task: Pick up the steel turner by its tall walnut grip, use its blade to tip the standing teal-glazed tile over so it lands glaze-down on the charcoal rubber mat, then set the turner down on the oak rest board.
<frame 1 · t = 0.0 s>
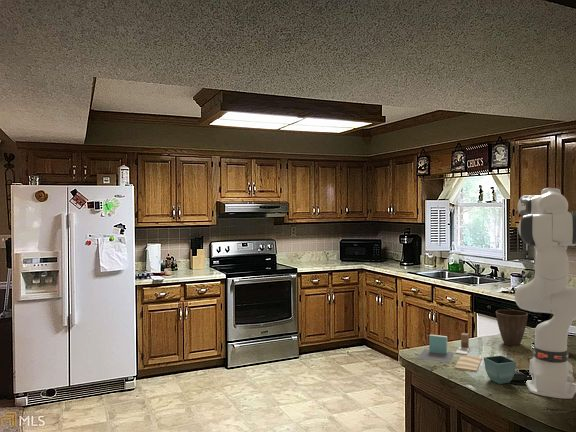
hand: (550, 255, 220), 48 cm above the counter, fingers open, 8 cm apart
tile: (438, 352, 235), resting on mat
plant pot: (511, 344, 251), on the counter
flower pot: (499, 382, 197), on the counter
rest board: (468, 363, 219), on the counter
mat: (436, 356, 231), on the counter
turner: (464, 348, 244), on the counter
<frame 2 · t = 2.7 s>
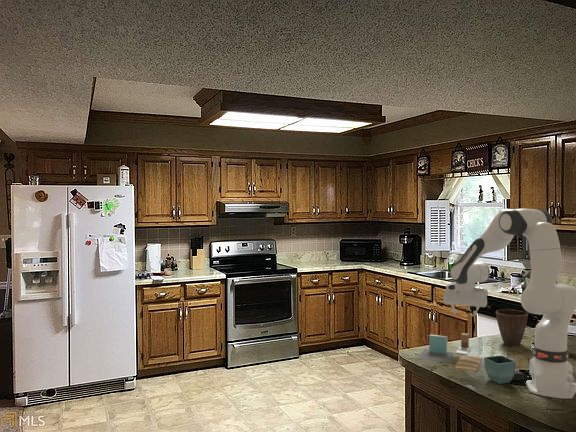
hand: (464, 314, 244), 17 cm above the counter, fingers open, 8 cm apart
nothing on the counter moved.
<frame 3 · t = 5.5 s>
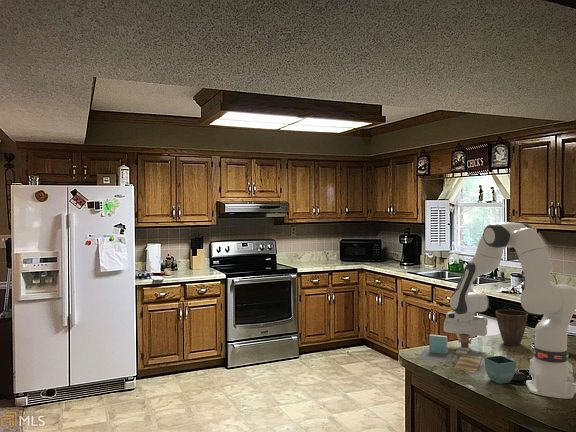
hand: (464, 342, 244), 3 cm above the counter, fingers closed on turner, 3 cm apart
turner: (464, 348, 244), on the counter, touching gripper
everything else where it was.
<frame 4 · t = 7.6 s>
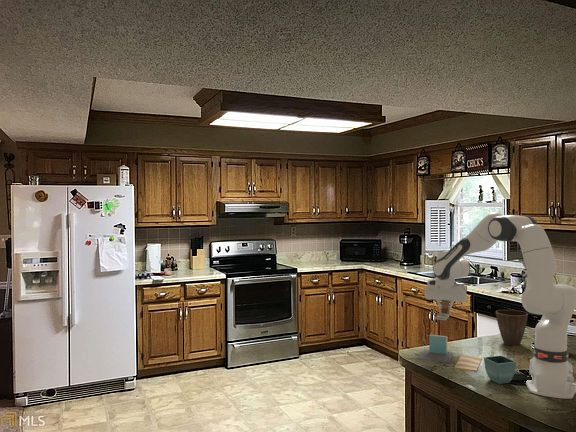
hand: (445, 309, 250), 18 cm above the counter, fingers closed on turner, 3 cm apart
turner: (445, 314, 250), point 16 cm above the counter, touching gripper
everything else where it was.
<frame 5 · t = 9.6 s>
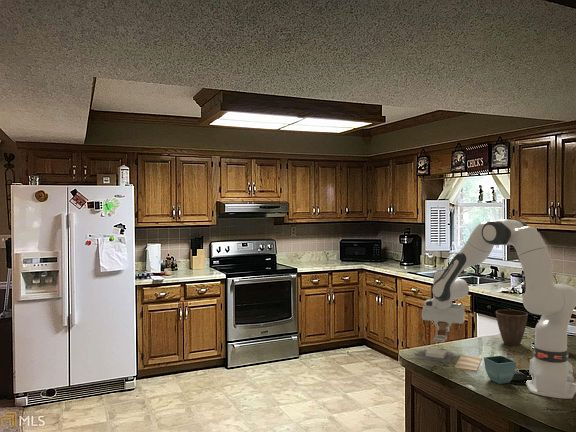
hand: (442, 330, 244), 9 cm above the counter, fingers closed on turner, 3 cm apart
tile: (437, 351, 234), point 1 cm above the counter, tilted 90°, touching mat
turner: (442, 335, 244), point 6 cm above the counter, touching gripper
everything else where it was.
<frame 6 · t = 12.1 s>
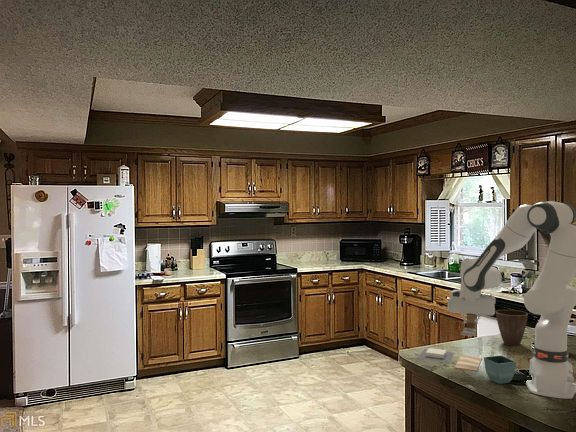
hand: (470, 323, 224), 17 cm above the counter, fingers closed on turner, 3 cm apart
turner: (470, 329, 224), point 14 cm above the counter, touching gripper
everything else where it was.
when the fingers open (4 cm above the counter, at t = 14.3 s): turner stays where it is, resting on rest board.
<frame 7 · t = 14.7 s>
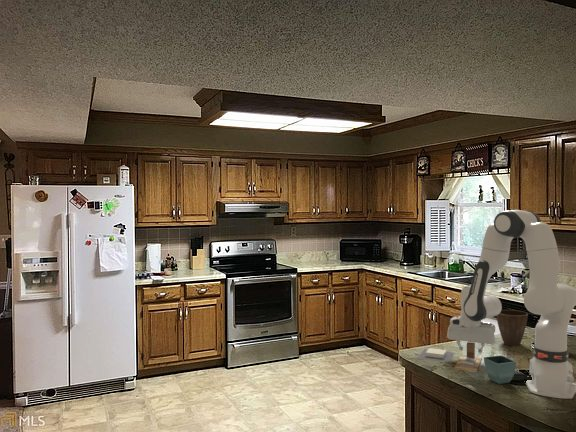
hand: (470, 351, 225), 4 cm above the counter, fingers open, 7 cm apart
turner: (470, 358, 225), point 1 cm above the counter, touching rest board
everything else where it was.
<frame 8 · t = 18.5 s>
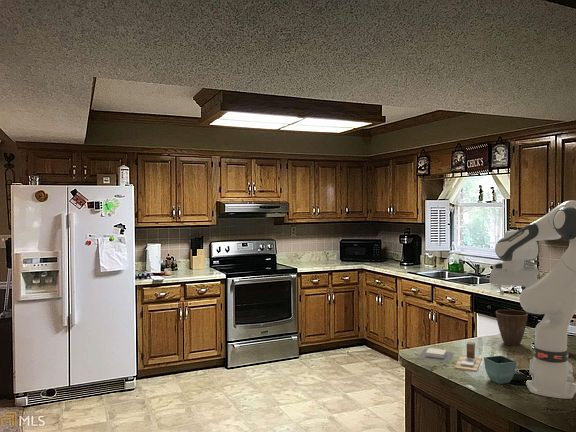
hand: (513, 295, 227), 29 cm above the counter, fingers open, 8 cm apart
nothing on the counter moved.
at the end: tile tilted 90°; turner inside the target area on the rest board (3.1 cm from its centre), point 0.8 cm above the rest board's base; the gripper is holding nothing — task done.
